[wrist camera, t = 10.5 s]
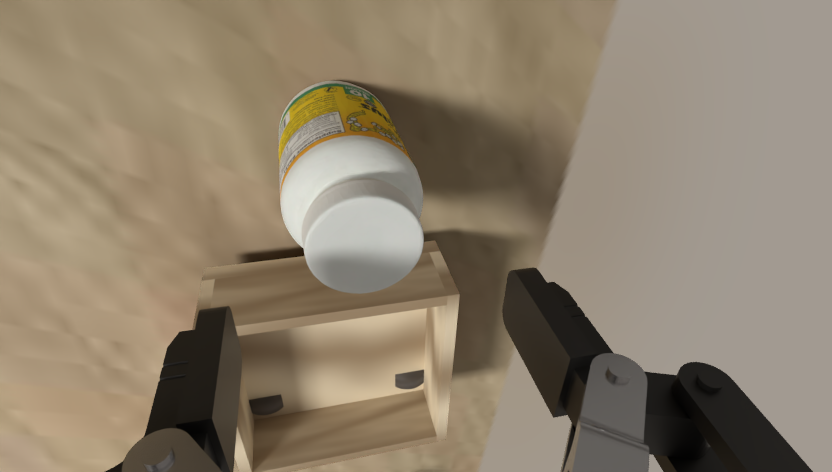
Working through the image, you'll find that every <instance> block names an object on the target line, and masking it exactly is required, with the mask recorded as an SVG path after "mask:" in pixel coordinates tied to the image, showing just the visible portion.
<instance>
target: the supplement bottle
mask: <svg viewBox="0 0 832 472" xmlns="http://www.w3.org/2000/svg"><path fill="white" fill-rule="evenodd" d="M279 178H280V204H281V212H282V216H283V220H284V223H285V225H286V227H287V229H288V231H289V233H290V234H291V236H292V237H293V238H294V240H295V241H296V242H297V243H298V244H299V245H300V246H301V247H302V248H304V255H305V259H306V262H307V265H308V267H309V269H310V270H311V272H312V273H313V275H314V276H315V277H316V278H317V279H318V280H319V281H320V282H322V283H323V284H324V285H326V286H328V287H330V288H332V289H335V290H338V291H341V292H345V293H356V294H362V293H371V292H375V291H379V290H382V289H385V288H387V287H389V286H392V285H394V284H395V283H397V282H398V281H400V280H401V279H403V278H404V277H405V276H406V275H407V274H408V273H409V272H410V271H411V270H412V269H413V268H414V267H415V265H416V264H417V262H418V260H419V258H420V256H421V254H422V250H423V244H424V236H423V229H422V225H421V223H420V220H419V218H420V215H421V211H422V206H423V189H422V184H421V180H420V177H419V175H418V172H417V169H416V167H415V165H414V163H413V161H412V160H411V158H410V156H409V154H408V152H407V150H406V148H405V146H404V144H403V142H402V140H401V138H400V136H399V134H398V133H397V131H396V129H395V126H394V125H393V123H392V121H391V119H390V117H389V115H388V113H387V111H386V110H385V108H384V106H383V105H382V103H381V102H380V101H379V100H378V99H377V98H376V97H375V96H374V95H373V94H372V93H370V92H369V91H367V90H365V89H363V88H361V87H359V86H356V85H354V84H351V83H347V82H343V81H324V82H320V83H316V84H314V85H311V86H309V87H307V88H306V89H304V90H303V91H301V92H300V93H298V94H297V95H296V96H295V97H294V98H293V99H292V100H291V101H290V103H289V104H288V106H287V107H286V109H285V111H284V113H283V115H282V118H281V121H280V125H279Z"/></svg>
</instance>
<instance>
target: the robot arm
mask: <svg viewBox="0 0 832 472" xmlns="http://www.w3.org/2000/svg"><path fill="white" fill-rule="evenodd" d="M503 320H504V324H505V327H506V329H507V331H508V333H509V335H510V337H511V339H512V341H513V342H514V344H515V346H516V348H517V350H518V352H519V354H520V356H521V357H522V359H523V361H524V363H525V365H526V367H527V369H528V371H529V373H530V374H531V376H532V378H533V380H534V382H535V384H536V386H537V388H538V389H539V391H540V393H541V395H542V397H543V399H544V401H545V403H546V405H547V406H548V408H549V410H550V412H551V414H552V416H553V417H558V416H564V415H568V416H569V418H570V420H571V422H572V424H571V427H570V430H569V435H568V439H567V444H566V449H565V453H564V458H563V463H562V467H561V472H648V468H649V454H653V455H654V457H655V458H656V460H657V462H658V463H659V465H660V467H661V468H662V470H663V471H664V472H813V471H812V470H811V469H810V468H809V467H808V466H807V464H806V463H805V462H804V461H803V460H802V459H801V458H800V457H799V455H798V454H797V453H796V452H795V451H794V450H793V448H792V447H791V446H790V445H789V444H788V443H787V442H786V440H785V439H784V438H783V437H782V436H781V435H780V434H779V432H778V431H777V430H776V429H775V428H774V427H773V426H772V424H771V423H770V422H769V421H768V420H767V419H766V417H764V415H763V414H762V413H761V412H760V411H759V409H758V408H756V406H755V405H754V404H753V403H752V402H751V400H750V399H749V398H748V397H747V396H746V395H745V393H744V392H743V391H742V390H741V389H740V388H739V387H738V385H737V384H736V383H735V382H734V381H733V380H732V379H731V378H730V377H729V376H728V375H727V374H726V373H724V372H723V371H721V370H720V369H718V368H716V367H714V366H711V365H708V364H705V363H700V362H691V363H687V364H684V365H683V366H682V367H681V368H680V370H679V372H678V374H677V375H669V374H659V373H650V372H644V371H643V369H642V368H641V367H640V366H639V365H638V364H637V363H636V362H634V361H633V360H631V359H629V358H627V357H625V356H623V355H619V354H614V353H613V352H612V351H611V349H610V348H609V347H608V345H607V344H606V342H605V341H604V340H603V338H602V337H601V336H600V334H599V333H598V332H597V331H596V329H595V327H594V326H593V325H592V324H591V322H590V321H589V319H588V318H587V317H585V314H584V313H583V311H582V310H581V309H580V307H578V306H577V303H576V302H575V301H574V299H573V298H572V297H571V295H570V294H569V292H567V291H566V290H565V289H563V288H562V287H560V286H559V285H558V284H556V283H555V282H549V283H547V282H546V281H545V279H544V278H543V276H542V275H541V274H540V272H539V271H538V270H537V269H536V268H526V269H518V270H511V271H510V272H509V274H508V279H507V285H506V291H505V297H504V303H503ZM241 373H242V355H241V347H240V343H239V339H238V335H237V331H236V327H235V323H234V319H233V315H232V311H231V308H230V307H229V306H224V307H216V308H208V309H201V310H199V312H198V316H197V321H196V326H195V330H189V331H182V332H179V333H178V335H177V336H176V337H175V339H174V340H173V341H172V342H171V344H170V345H169V346H168V348H167V351H166V355H165V359H164V363H163V368H162V371H161V375H160V381H159V383H158V386H157V390H156V394H155V398H154V402H153V406H152V410H151V414H150V418H149V422H148V425H147V429H146V433H145V436H144V438H142V439H141V440H140V441H138V442H137V443H136V444H135V445H134V446H133V447H132V448H131V449H130V451H129V452H128V454H127V455H126V457H125V459H124V461H123V462H121V463H120V464H118V465H117V466H115V467H113V468H111V469H110V470H108V471H105V472H233V468H234V456H235V444H236V432H237V421H238V409H239V397H240V385H241Z"/></svg>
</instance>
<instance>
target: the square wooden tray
mask: <svg viewBox="0 0 832 472" xmlns="http://www.w3.org/2000/svg"><path fill="white" fill-rule="evenodd" d="M459 297H460V293H459V291H458V289H457V287H456V285H455V283H454V280H453V278H452V276H451V274H450V272H449V269H448V267H447V265H446V263H445V261H444V258H443V256H442V254H441V252H440V250H439V247H438V245H437V243H436V241H426V242H424V244H423V250H422V254H421V256H420V258H419V260H418V262H417V264H416V265H415V267H414V268H413V269H412V270H411V271H410V272H409V273H408V274H407V275H406V276H405V277H404V278H403V279H401V280H400V281H398V282H397V283H395V284H394V285H392V286H389V287H387V288H385V289H382V290H379V291H375V292H371V293H362V294H356V293H345V292H341V291H338V290H335V289H332V288H330V287H328V286H326V285H324V284H323V283H322V282H320V281H319V280H318V279H317V278H316V277H315V276H314V275H313V273H312V272H311V270H310V269H309V267H308V265H307V262H306V259H305V256H301V257H293V258H284V259H276V260H268V261H259V262H251V263H243V264H234V265H226V266H218V267H209V268H204V272H203V277H202V283H201V288H200V293H199V298H198V303H197V309H196V314H195V319H194V324H193V330H195V326H196V321H197V316H198V312H199V310H201V309H208V308H216V307H224V306H229V307H230V308H231V311H232V315H233V319H234V323H235V327H236V331H237V335H238V339H239V343H240V347H241V355H242V373H241V385H240V397H239V409H238V421H237V432H236V444H235V456H234V457H235V459H236V462H237V465H238V468H239V471H240V472H291V471H296V470H301V469H306V468H311V467H316V466H321V465H326V464H331V463H335V462H340V461H345V460H350V459H355V458H360V457H365V456H370V455H374V454H379V453H384V452H389V451H394V450H399V449H404V448H409V447H414V446H418V445H423V444H428V443H433V442H438V441H443V440H446V432H447V421H448V411H449V401H450V390H451V380H452V370H453V359H454V349H455V339H456V328H457V318H458V307H459Z"/></svg>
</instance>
